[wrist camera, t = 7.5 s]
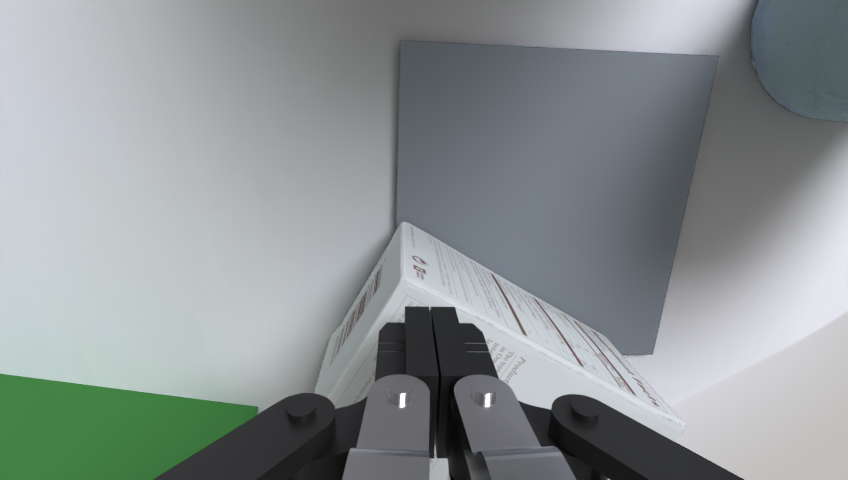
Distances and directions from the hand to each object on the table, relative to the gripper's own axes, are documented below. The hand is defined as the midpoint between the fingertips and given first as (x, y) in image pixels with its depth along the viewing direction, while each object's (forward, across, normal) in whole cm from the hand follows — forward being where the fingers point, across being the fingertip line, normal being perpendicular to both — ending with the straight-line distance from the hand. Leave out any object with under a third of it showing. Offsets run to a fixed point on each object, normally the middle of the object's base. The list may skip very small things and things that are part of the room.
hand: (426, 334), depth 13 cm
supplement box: (+5, +3, +2) cm, 6 cm away
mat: (+9, -6, -2) cm, 11 cm away
